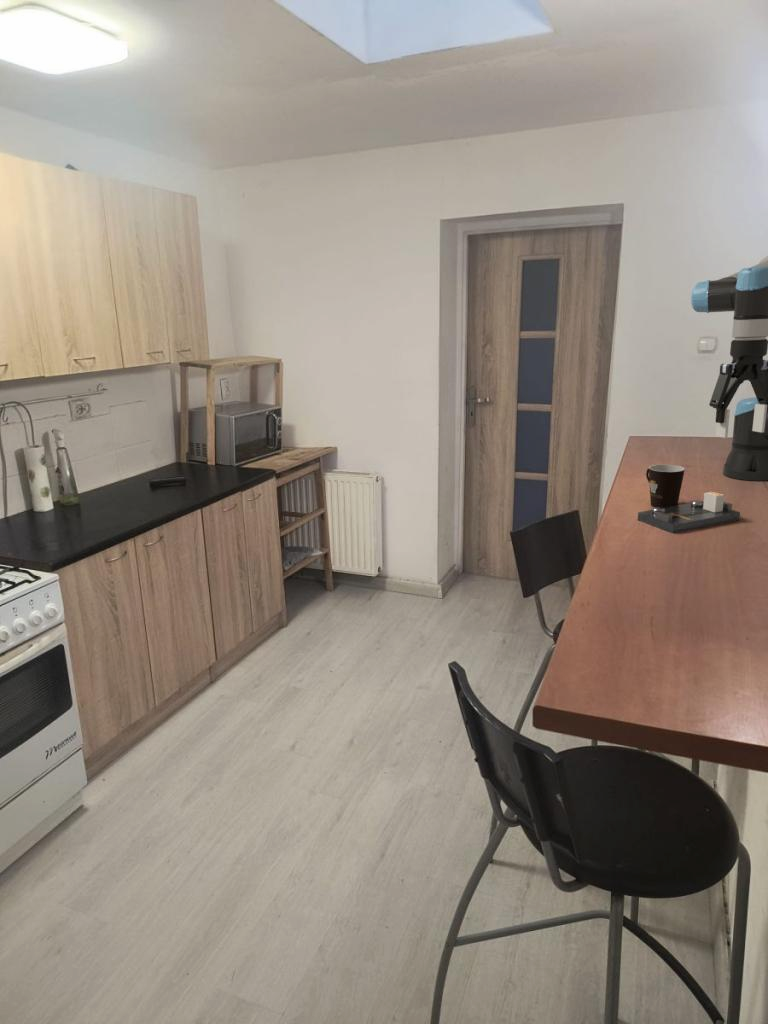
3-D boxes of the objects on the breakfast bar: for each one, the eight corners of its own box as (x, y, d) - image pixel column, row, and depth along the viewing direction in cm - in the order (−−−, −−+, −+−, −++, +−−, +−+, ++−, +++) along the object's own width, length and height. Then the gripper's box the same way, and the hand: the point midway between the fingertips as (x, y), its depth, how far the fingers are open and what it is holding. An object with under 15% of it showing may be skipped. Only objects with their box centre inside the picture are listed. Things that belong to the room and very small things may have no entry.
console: (701, 508, 170) (702, 494, 169) (739, 520, 159) (740, 505, 158) (637, 520, 163) (638, 506, 162) (672, 533, 153) (673, 518, 152)
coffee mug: (685, 510, 169) (688, 471, 166) (649, 510, 171) (651, 472, 168) (675, 498, 180) (678, 461, 177) (641, 497, 182) (644, 462, 179)
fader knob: (710, 507, 163) (712, 491, 162) (722, 511, 160) (724, 494, 159) (703, 508, 162) (704, 492, 161) (714, 512, 159) (716, 495, 158)
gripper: (773, 335, 159) (763, 427, 165) (697, 341, 152) (689, 436, 158) (802, 335, 152) (790, 431, 159) (723, 342, 145) (714, 441, 151)
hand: (740, 434), depth 158 cm, fingers open, 11 cm apart
